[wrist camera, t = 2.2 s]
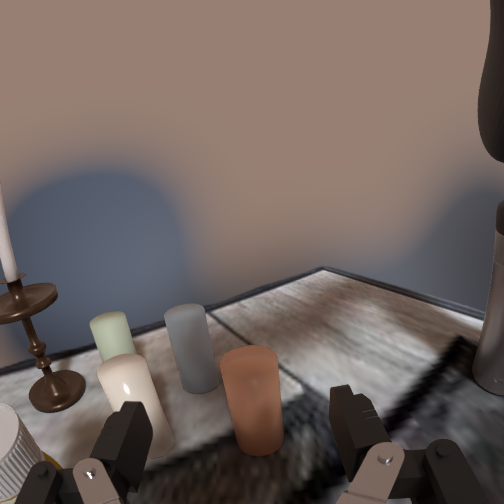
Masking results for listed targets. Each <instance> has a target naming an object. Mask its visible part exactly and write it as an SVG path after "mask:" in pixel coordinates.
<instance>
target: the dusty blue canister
mask: <svg viewBox="0 0 504 504" xmlns="http://www.w3.org/2000/svg"><path fill="white" fill-rule="evenodd" d="M164 318H165V322H166V326H167V330H168V334H169V338H170V342H171V345H172V349H173V353H174V356H175V360H176V364H177V367H178V371H179V374H180V377H181V381H182V384H183V387H184V389H185V390H186V391H187V392H189V393H193V394H202V393H206V392H209V391H211V390H213V389H214V388H215V387H216V386H217V385H218V383H219V378H218V373H217V369H216V364H215V359H214V355H213V350H212V345H211V340H210V335H209V330H208V325H207V320H206V315H205V310H204V307H203V306H201V305H198V304H184V305H179V306H176V307H173V308H171V309H169V310H168V311H167V312H166V313H165V315H164Z"/></svg>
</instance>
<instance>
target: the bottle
mask: <svg viewBox="0 0 504 504" xmlns="http://www.w3.org/2000/svg"><path fill="white" fill-rule="evenodd" d="M41 461H48V462H51V463H52V464H53V465H54V466H55V467H56V468H57V469H63V468H62V467H61V466H60V465H59V464H58V463H57V462H56V461H55V460H54V459H53V458H51V457H50V456H49V455H47V454H46V453H44V452H43V451H41V450H40V448H39V447H38V446H37V444H36V443H35V440H34V439H33V437H32V436H31V434H30V433H29V431H28V430H27V428H26V427H25V425H24V424H23V422H22V420H21V419H20V417H19V416H18V414H17V413H16V412H15V411H14V410H13V409H12V408H11V407H10V406H8V405H6V404H3V403H0V504H14V503H15V501H16V498H17V496H18V494H19V492H20V490H21V488H22V485H23V483H24V481H25V479H26V477H27V475H28V473H29V471H30V469H31V467H32V466H33V465H34V464H36V463H38V462H41Z"/></svg>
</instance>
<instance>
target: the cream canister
mask: <svg viewBox="0 0 504 504" xmlns="http://www.w3.org/2000/svg"><path fill="white" fill-rule="evenodd" d="M97 375H98V378H99V380H100V383H101V385H102V387H103V389H104V392H105V394H106V396H107V398H108V400H109V403H110V405H111V407H112V409H113V411H114V412H115V411H120V409H121V407H122V405H123V403H124V401H141V402H142V403H143V405H144V407H145V409H146V412H147V414H148V417H149V419H150V422H151V424H152V427H153V439H152V442H151V446H150V449H149V453H148V456H147V458H158V457H161V456H163V455H165V454H167V453H168V452H169V451H170V450H171V449H172V448H173V446H174V442H175V439H174V436H173V434H172V431H171V429H170V426H169V424H168V421H167V419H166V416H165V414H164V411H163V409H162V406H161V403H160V401H159V398H158V395H157V393H156V390H155V387H154V384H153V381H152V379H151V376H150V373H149V370H148V367H147V364H146V361H145V359H144V358H143V357H142V356H140V355H137V354H121V355H117V356H114V357H111V358H109V359H108V360H106V361H105V362H103V363H102V364H101V365H100V366H99V368H98V370H97Z"/></svg>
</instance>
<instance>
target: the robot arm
mask: <svg viewBox="0 0 504 504" xmlns="http://www.w3.org/2000/svg"><path fill="white" fill-rule="evenodd" d="M490 7H491V8H490V9H491V22H490V36H489V44H488V50H487V54H486V59H485V64H484V69H483V73H482V78H481V83H480V89H479V97H478V125H479V131H480V135H481V139H482V142H483V144H484V146H485V148H486V150H487V151H488V153H489V154H490V155H491V156H492V157H493V158H494V159H496V160H497V161H500V162H503V163H504V0H490ZM472 373H473V376H474V378H475V380H476V381H477V383H478V384H479V385H480V386H481V387H483V388H484V389H486V390H487V391H489V392H491V393H494V394H497V395H502V396H504V201H502V202H501V203H500V204H499V205H498V208H497V213H496V236H495V249H494V261H493V269H492V277H491V284H490V290H489V296H488V302H487V308H486V313H485V318H484V323H483V327H482V332H481V336H480V340H479V344H478V348H477V352H476V355H475V359H474V363H473V367H472ZM329 419H330V424H331V428H332V431H333V434H334V437H335V440H336V443H337V446H338V450H339V453H340V456H341V459H342V462H343V465H344V468H345V472H346V475H347V478H348V481H349V482H352V483H351V485H350V486H349V488H348V490H347V491H344V492H343V494H342V495H341V496H340V498H339V500H338V501H337V503H336V504H385V503H386V501H387V499H399V498H410V499H411V502H412V504H490V503H489V501H488V499H487V498H486V496H485V494H484V492H483V490H482V488H481V486H480V484H479V482H478V480H477V479H476V477H475V475H474V473H473V471H472V469H471V468H470V466H469V464H468V462H467V460H466V459H465V457H464V455H463V453H462V452H461V450H460V448H459V446H458V445H457V444H456V443H455V442H453V441H451V440H448V439H439V440H436V441H433V442H432V443H431V444H429V446H428V447H427V449H424V450H404V449H402V448H401V447H400V446H398V445H397V444H395V443H392V442H391V440H390V438H389V436H388V434H387V432H386V430H385V428H384V426H383V424H382V422H381V420H380V418H379V417H378V414H377V412H376V410H375V408H374V406H373V404H372V402H371V400H370V399H368V398H367V397H366V396H365V395H363V394H362V393H361V394H356V395H353V392H352V390H351V388H350V386H349V385H348V384H347V385H342V386H337V387H331V389H330V405H329ZM152 439H153V427H152V424H151V422H150V419H149V417H148V414H147V412H146V409H145V407H144V405H143V403H142V402H141V401H124V403H123V405H122V407H121V409H120V411H115V412H114V413H113V414H112V415H111V416H109V417H108V418H107V420H106V423H105V425H104V428H103V429H102V431H101V435H99V438H98V440H97V442H96V444H95V446H94V448H93V451H92V453H91V455H90V457H89V458H87V459H83V460H81V461H79V462H78V463H77V464H76V465H75V466H74V468H70V469H57V468H56V467H55V466H54V465H53V464H52V463H51V462H48V461H41V462H38V463H36V464H34V465H33V466H32V467H31V469H30V471H29V473H28V475H27V477H26V479H25V481H24V483H23V485H22V488H21V490H20V492H19V494H18V496H17V498H16V501H15V503H14V504H130V502H129V501H128V499H127V498H126V497H127V494H128V492H134V493H137V492H138V488H139V485H140V481H141V477H142V474H143V470H144V467H145V463H146V460H147V456H148V453H149V449H150V446H151V442H152Z"/></svg>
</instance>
